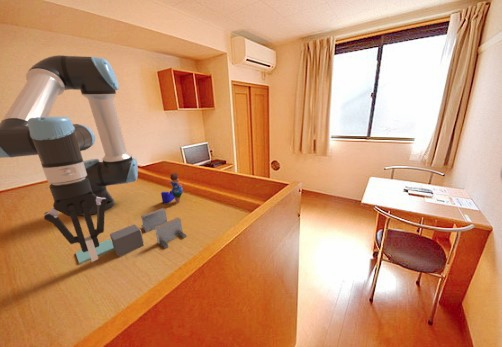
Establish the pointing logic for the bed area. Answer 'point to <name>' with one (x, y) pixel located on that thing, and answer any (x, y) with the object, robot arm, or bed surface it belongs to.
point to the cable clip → (167, 196)
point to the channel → (162, 226)
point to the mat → (100, 250)
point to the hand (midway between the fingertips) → (94, 258)
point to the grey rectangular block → (127, 240)
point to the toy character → (176, 187)
